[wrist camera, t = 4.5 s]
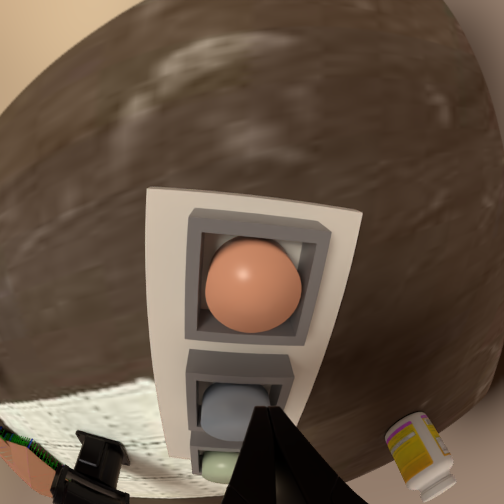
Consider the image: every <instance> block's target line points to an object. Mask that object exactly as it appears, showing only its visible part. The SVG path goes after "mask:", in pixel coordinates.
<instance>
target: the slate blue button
mask: <svg viewBox="0 0 504 504" xmlns="http://www.w3.org/2000/svg"><path fill="white" fill-rule="evenodd" d="M255 406H266V407H267V406H270V400H269V395H268V392H267V390H266V389H265V388H264V387H263V386H262V385H260V384H236V383H219V382H216V383H214V384H212V385H210V386H209V387H208V388H207V389H206V390H205V392H204V393H203V398H202V411H201V426H202V428H203V430H204V431H205V432H206V433H208V434H209V435H211V436H213V437H215V438H217V439H221V440H225V441H243V440H244V437H245V434H246V431H247V428H248V425H249V422H250V419H251V415H252V412H253V409H254V407H255Z"/></svg>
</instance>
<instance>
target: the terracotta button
mask: <svg viewBox="0 0 504 504" xmlns="http://www.w3.org/2000/svg"><path fill="white" fill-rule="evenodd" d="M205 296H206V301H207V304H208V307H209V309H210V311H211V313H212V314H213V315H214V317H215V318H216V319H217V320H218V321H219V322H221V323H222V324H223V325H225V326H226V327H228V328H230V329H233V330H236V331H240V332H245V333H258V332H263V331H267V330H270V329H273V328H275V327H277V326H279V325H280V324H282V323H283V322H285V321H286V320H287V319H288V318H289V317H290V316H291V315H292V313H293V312H294V311H295V309H296V307H297V305H298V303H299V300H300V297H301V280H300V277H299V274H298V272H297V270H296V268H295V266H294V264H293V263H292V261H291V259H290V257H289V256H288V254H287V252H286V251H285V249H284V248H283V247H282V246H281V245H280V244H279V243H277V242H276V241H274V240H273V239H267V238H257V237H247V236H237V237H234V238H232V239H230V240H228V241H227V242H225V243H224V244H223V245H222V246H220V247H219V248H218V250H217V251H216V252H215V254H214V255H213V257H212V259H211V262H210V265H209V270H208V276H207V282H206V289H205Z"/></svg>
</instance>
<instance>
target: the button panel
mask: <svg viewBox="0 0 504 504" xmlns="http://www.w3.org/2000/svg"><path fill="white" fill-rule="evenodd" d="M362 214H363V213H362V212H360V211H358V210H355V209H349V208H343V207H337V206H330V205H324V204H317V203H310V202H303V201H296V200H289V199H281V198H273V197H265V196H256V195H247V194H238V193H228V192H218V191H206V190H194V189H181V188H167V187H149V188H147V197H146V228H145V261H146V292H147V310H148V324H149V335H150V346H151V355H152V363H153V371H154V379H155V386H156V392H157V398H158V404H159V410H160V416H161V421H162V426H163V431H164V436H165V441H166V445H167V450H168V454H169V457H174V458H182V459H191V464H192V473H193V474H197V475H202V459H203V453H204V452H205V451H222V452H240V449H241V446H242V443H243V441H225V440H221V439H217V438H215V437H213V436H211V435H209V434H208V433H206V432H205V431H204V430H203V428H202V426H201V411H202V398H203V393H204V392H205V390H206V389H207V388H208V387H209V386H210V385H212V384H214V383H216V382H219V383H236V384H260V385H262V386H263V387H264V388H265V389H266V390H267V392H268V395H269V400H270V406H280V407H281V408H282V410H283V411H284V412H285V413H286V415H287V416H288V417H289V418H290V420H291V421H292V422H293V423H294V425H295V426H297V424H298V421H299V419H300V417H301V414H302V412H303V410H304V407H305V405H306V402H307V400H308V397H309V395H310V392H311V390H312V387H313V384H314V382H315V379H316V376H317V374H318V371H319V368H320V366H321V363H322V360H323V357H324V354H325V351H326V348H327V345H328V342H329V339H330V336H331V333H332V330H333V327H334V324H335V321H336V317H337V314H338V311H339V307H340V304H341V300H342V297H343V293H344V290H345V286H346V282H347V279H348V275H349V271H350V267H351V263H352V259H353V255H354V251H355V246H356V242H357V238H358V233H359V228H360V224H361V219H362ZM237 236H247V237H257V238H267V239H273V240H274V241H276V242H277V243H279V244H280V245H281V246H282V247H283V248H284V249H285V251H286V252H287V254H288V256H289V257H290V259H291V261H292V263H293V264H294V266H295V268H296V270H297V272H298V274H299V277H300V280H301V297H300V300H299V303H298V305H297V307H296V309H295V311H294V312H293V313H292V315H291V316H290V317H289V318H288V319H287V320H286V321H285V322H283V323H282V324H280V325H279V326H277V327H275V328H273V329H270V330H267V331H263V332H258V333H245V332H240V331H236V330H233V329H230V328H228V327H226V326H225V325H223V324H222V323H221V322H219V321H218V320H217V319H216V318H215V317H214V315H213V314H212V313H211V311H210V309H209V307H208V304H207V301H206V296H205V289H206V282H207V276H208V270H209V265H210V262H211V259H212V257H213V255H214V254H215V252H216V251H217V250H218V248H219V247H220V246H222V245H223V244H224V243H225V242H227V241H228V240H230V239H232V238H234V237H237Z"/></svg>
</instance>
